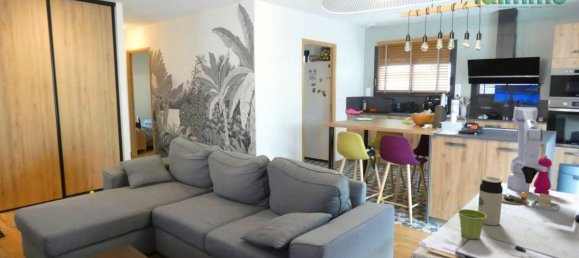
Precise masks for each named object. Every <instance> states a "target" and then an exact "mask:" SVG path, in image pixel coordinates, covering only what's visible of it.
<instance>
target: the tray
mask: <svg viewBox="0 0 579 258" xmlns="http://www.w3.org/2000/svg"><path fill="white" fill-rule="evenodd" d="M535 203H538V205H539V199H534V200H533V201H532V203H531V204H530V205H531V206H530V207H531V208H535V209H539V210H544V211H545V210H546V211H551V212H555V213H557V212H558V209H559V207H560V204H559V203H557V202H551V206H554V207H555V208H553V207H550V208H549V207H543V206H538V205H537V204H535Z"/></svg>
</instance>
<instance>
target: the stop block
mask: <svg viewBox="0 0 579 258" xmlns="http://www.w3.org/2000/svg"><path fill="white" fill-rule="evenodd" d="M538 200H539V203H538V206H543V207H549V208H551V206H552V205H551V203H552V194H549V195H547V194H539V198H538Z"/></svg>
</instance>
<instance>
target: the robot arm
mask: <svg viewBox="0 0 579 258" xmlns="http://www.w3.org/2000/svg"><path fill="white" fill-rule="evenodd" d="M538 113H539V110H538V108H537V107H530V106H529V107H527V106H526V107H525V106H524V107H523V106H520V107H519V106H515V107H514V108H513V124H514V125H515V126H517V130H518V131H517V156H515V157H513V158H512V160H511V163H510V174H509V175H508V176H507V184H506V189H509V190H513V191H516V192H520V193H521V192H526V193H532V192H531V191H530V186H531V184H532V183H533V182H534V178H535V177H536V175H537V174H538V173H539V170H540V171H542V172H547V169H548V167H544V166H541V165H539V164H538V160H539V159H540V149H541V142H542V141H543V138H544V131H543V128H540V127H539V124H538V121H537V118H538ZM532 194H533V193H532Z"/></svg>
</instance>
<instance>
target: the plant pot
mask: <svg viewBox="0 0 579 258" xmlns="http://www.w3.org/2000/svg"><path fill="white" fill-rule="evenodd" d="M457 214H458V216H459V221H460V222H459V223H460V234H461V236H462V237H463V238H465V239H468V240H475V239H476V240H478V238H479V239H480V237H481V234H482V231H483V230H482V229H483V226H484V224H483V223H484V221H485V218H486V217H487V215H486V214H484V213H482V212H479V211H478V210H475V209H468V208H465V209H463V208H462V209H459V210H457Z"/></svg>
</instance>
